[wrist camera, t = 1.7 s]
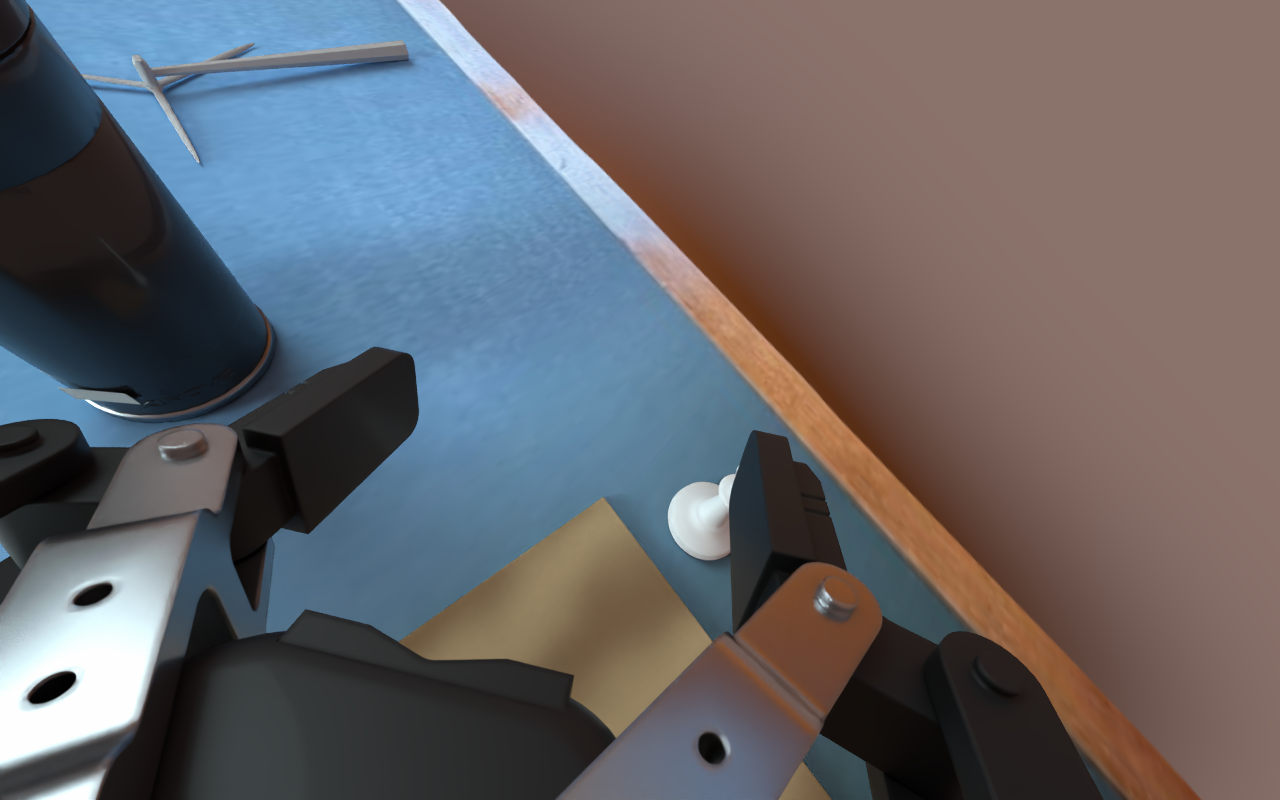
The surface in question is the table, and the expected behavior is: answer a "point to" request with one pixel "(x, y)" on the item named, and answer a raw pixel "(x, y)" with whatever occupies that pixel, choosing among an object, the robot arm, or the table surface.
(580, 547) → the corner board
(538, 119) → the table surface
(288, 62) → the wind turbine model
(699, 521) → the chess piece
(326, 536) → the table surface
